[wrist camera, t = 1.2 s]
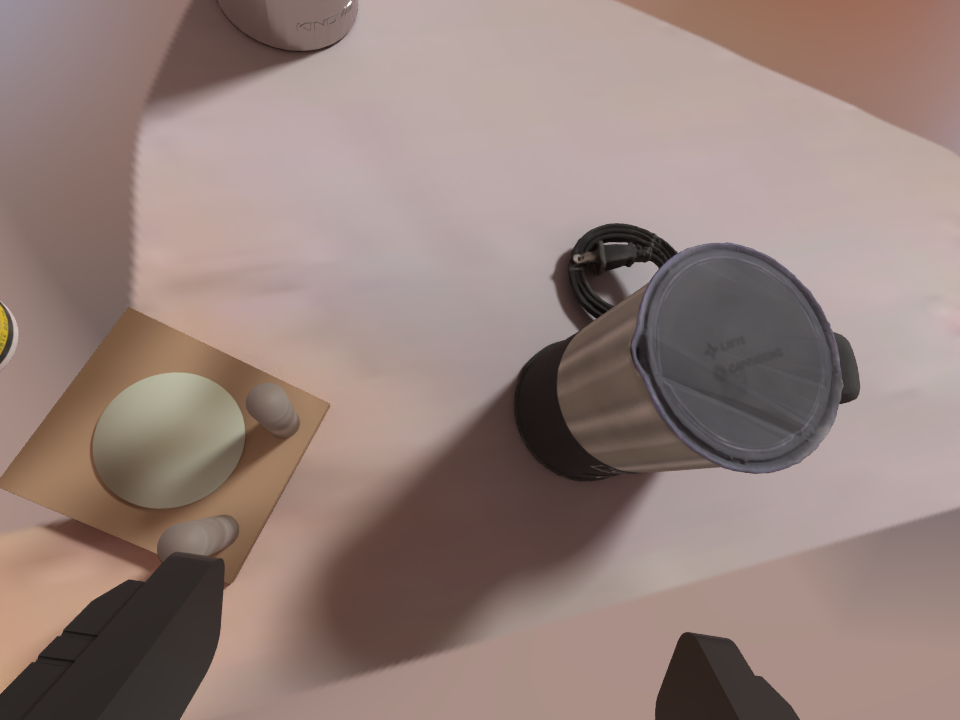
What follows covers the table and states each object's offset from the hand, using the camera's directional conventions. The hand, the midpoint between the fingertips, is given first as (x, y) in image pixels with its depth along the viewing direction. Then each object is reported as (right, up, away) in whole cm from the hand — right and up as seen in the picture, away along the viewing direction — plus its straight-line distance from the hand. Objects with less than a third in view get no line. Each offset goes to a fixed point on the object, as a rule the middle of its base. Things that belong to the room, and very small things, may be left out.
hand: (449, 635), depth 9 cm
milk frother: (+8, +5, +26) cm, 28 cm away
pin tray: (-15, +1, +18) cm, 24 cm away
